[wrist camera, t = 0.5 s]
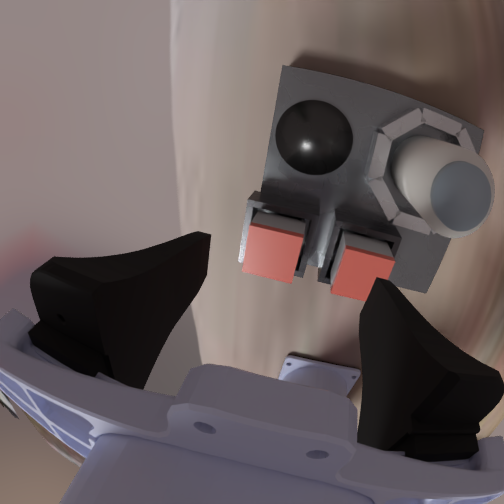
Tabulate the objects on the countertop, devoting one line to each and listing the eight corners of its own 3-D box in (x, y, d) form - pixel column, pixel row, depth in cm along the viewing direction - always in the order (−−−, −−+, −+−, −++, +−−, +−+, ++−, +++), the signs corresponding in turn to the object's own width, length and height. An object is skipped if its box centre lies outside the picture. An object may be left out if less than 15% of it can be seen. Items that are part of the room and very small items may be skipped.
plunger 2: (372, 282, 19) (376, 303, 17) (330, 271, 19) (330, 293, 17) (387, 242, 17) (395, 261, 15) (343, 230, 18) (345, 248, 16)
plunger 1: (295, 263, 19) (291, 283, 17) (251, 252, 20) (241, 271, 18) (305, 221, 18) (303, 238, 16) (258, 210, 18) (249, 225, 16)
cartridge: (439, 209, 17) (481, 252, 11) (383, 190, 18) (409, 229, 12) (457, 148, 15) (510, 170, 9) (399, 126, 15) (437, 135, 10)
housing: (419, 279, 22) (432, 308, 18) (251, 238, 23) (238, 262, 20) (471, 127, 15) (498, 133, 12) (280, 68, 17) (270, 58, 14)
